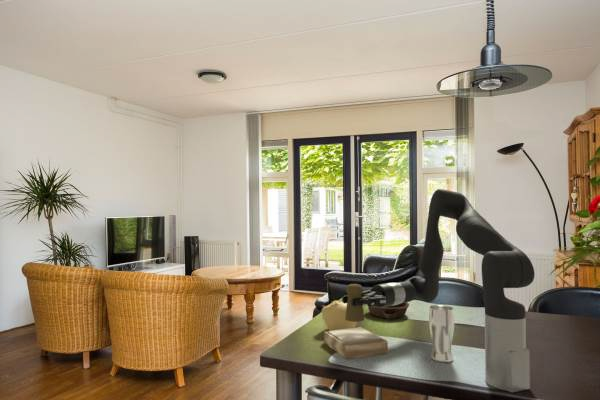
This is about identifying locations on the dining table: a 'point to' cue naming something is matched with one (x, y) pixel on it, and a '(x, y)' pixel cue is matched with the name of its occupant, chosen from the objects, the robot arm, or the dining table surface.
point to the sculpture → (336, 316)
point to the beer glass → (441, 332)
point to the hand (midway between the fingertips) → (347, 301)
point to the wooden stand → (355, 342)
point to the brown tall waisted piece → (354, 311)
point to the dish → (389, 311)
